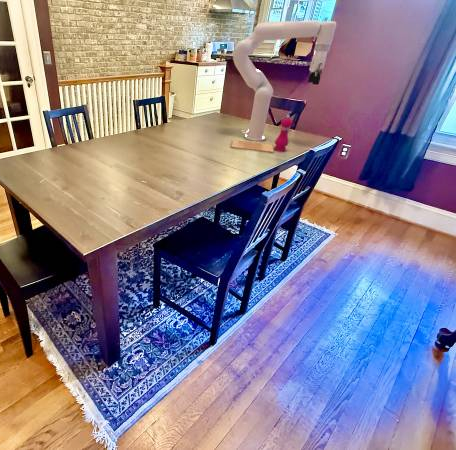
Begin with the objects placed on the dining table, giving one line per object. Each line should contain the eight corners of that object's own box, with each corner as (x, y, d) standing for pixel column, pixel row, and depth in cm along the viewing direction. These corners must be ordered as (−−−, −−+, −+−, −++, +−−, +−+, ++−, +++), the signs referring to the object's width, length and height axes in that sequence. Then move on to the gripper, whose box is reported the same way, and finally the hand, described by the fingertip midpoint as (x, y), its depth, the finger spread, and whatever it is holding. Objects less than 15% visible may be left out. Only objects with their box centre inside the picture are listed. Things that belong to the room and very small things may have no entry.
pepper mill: (286, 149, 183) (295, 114, 173) (285, 152, 178) (294, 117, 167) (274, 147, 186) (282, 113, 175) (272, 150, 180) (281, 115, 170)
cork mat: (231, 147, 182) (231, 146, 182) (233, 141, 194) (233, 140, 194) (273, 152, 177) (273, 151, 177) (272, 145, 189) (272, 144, 188)
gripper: (310, 48, 172) (302, 81, 181) (319, 49, 158) (309, 85, 167) (324, 48, 171) (315, 81, 180) (334, 49, 157) (324, 85, 166)
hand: (312, 83), depth 173 cm, fingers open, 9 cm apart
